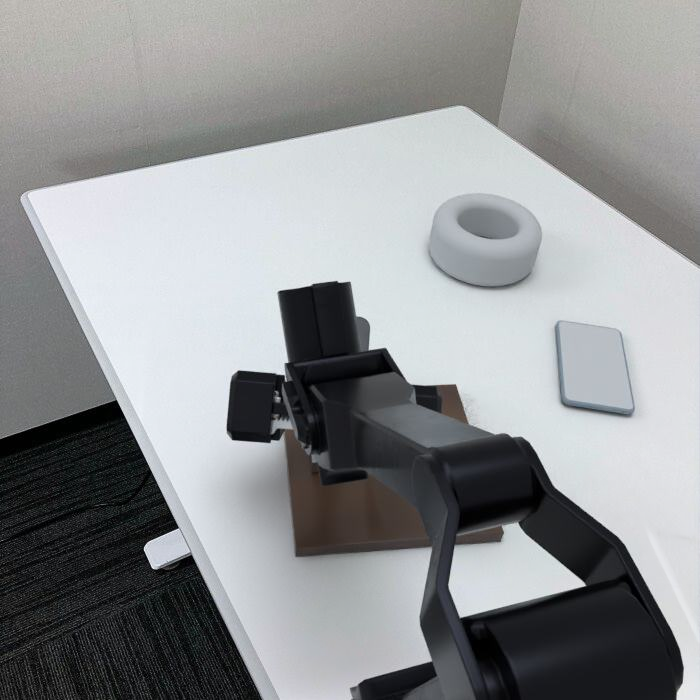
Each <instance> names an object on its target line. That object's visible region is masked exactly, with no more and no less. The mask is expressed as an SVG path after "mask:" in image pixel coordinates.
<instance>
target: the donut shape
mask: <svg viewBox="0 0 700 700" xmlns="http://www.w3.org/2000/svg"><path fill="white" fill-rule="evenodd" d="M542 239H543V231H542V227H541V224H540V222H539V220H538V218H537V217H536V216H535V215H534V213H533V212H532V211H530V210H529V209H528V208H527V207H525V206H524V205H522V204H521V203H519V202H517V201H515V200H513V199H511V198H508V197H505V196H502V195H497V194H492V193H484V192H480V193H479V192H473V193H465V194H460V195H456V196H454V197H450V198H449V199H447V200H446V201H444V202H443V203H442V204H441V205H440V206H438V208H437V209H436V211H435V212H434V215H433V218H432V224H431V229H430V235H429V241H428V250H429V254H430V257H431V258H432V260H433V261H434V263H435V264H436V265H437V267H439V268H440V269H441V270H442V271H443V272H445V273H446V274H447V275H449V276H451V277H452V278H454V279H456V280H458V281H461V282H464V283H467V284H470V285H474V286H480V287H503V286H509V285H512V284H515V283H517V282H520V281H521V280H523V279H524V278H526V277H527V276H528V275H530V273H531V272H532V270H533V268H534V267H535V265H536V260H537V257H538V254H539V250H540V248H541V244H542V241H543V240H542Z"/></svg>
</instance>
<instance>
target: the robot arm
mask: <svg viewBox="0 0 700 700" xmlns="http://www.w3.org/2000/svg"><path fill="white" fill-rule="evenodd" d="M276 294H277V300H278V307H279V312H280V313H279V314H280V318H281V326H282V333H283V338H284V345H285V350H286V356H287V362H284V363H283V364H284V365H283V367H284V372H285V374H278V373H276V372H264V371H252V370H240V369H238V370H236V372H234V374H232V375H231V378H230V382H229V383H230V384H229V393H228V403H227V404H228V405H227V414H226V415H227V417H226V426H225V427H226V435H227V436H228V437H229V438H230V439H231V441H236V442H249V443H261V444H271V443H272V441H273V442H274V441H276V442H279V441H280V440H281V439H282V436H284V431H285V429H291V430H294V433H295V437H296V439H297V440H298V441H300V442H301V444H302V448H303V449H305V451H306V453H307V454H308V455H314V457H315V459H316V461H317V463H318V468H319V475H320V481H321V485H322V486H323V487H326V486H332V485H338V484H344V483H350V482H356V481H362V480H367V479H368V477H369V476H368V473H369V474H371V475H372V476H373V477H375V478H376V479H377V480H379V481H380V482H381V483H383V484H384V485H385V486H387V487H388V488H389V489H391V490H392V491H394V492H395V493H396V494H398V495H399V496H400V497H402V498H403V499H404V500H406V501H407V502H408V503H410V504H411V505H412V506H414V507H415V508H416V509H418V512H419V515H420V518H421V521H422V523H423V526H424V529H425V531H426V534H427V536H428V539H429V542H430V544H431V553H430V558H429V564H428V567H427V568H428V569H427V573H426V580H425V585H424V590H423V596H422V602H421V605H420V606H421V607H420V610H419V611H420V612H419V627H420V630H421V633H422V636H423V638H424V639H423V640H424V642H425V645H426V647H427V650H428V654H429V656H430V659H431V660H430V661H428V662H424V663H420V664H417V665H412V666H409V667H406V668H401V669H398V670H394V671H391V672H387V673H383V674H379V675H376V676H372V677H369V678H365V679H363V680H362V681H360V682H359V683H357V685H355V686H351V687H349V692H350V695H351V699H350V700H677V698H678V692H679V690H680V689H681V687H682V686H683V683H684V672H685V665H684V662H683V656H682V652H681V648H680V645H679V644H678V641H677V639H676V637H675V634H674V632H673V630H672V628H671V626H670V624H669V622H668V621H667V619H666V617H665V615H664V613H663V612H662V610H661V608H660V606H659V604H658V603H657V600H656V599H655V597H654V595H653V593H652V592H651V589H650V588H649V586H648V584H647V582H646V580H645V579H644V577H643V576H642V573H641V571H640V569H639V568H638V566H637V565H636V562H635V560H634V559H633V557H632V555H631V554H630V552H629V549H628V548H627V546H626V544H625V543H624V542H623V541H622V539H620V537H619V536H618V535H617V534H615V533H614V532H612V531H611V530H610V529H608V527H606V526H605V525H603V524H602V523H601V522H600V521H598V519H596V518H594V516H592V515H590V514H589V513H588V512H587V511H585V509H583V508H581V506H579V505H578V504H577V503H575V502H574V501H573V500H572V499H570V498H569V497H568V496H567V495H565V494H564V493H563V492H562V491H560V490H559V489H557V488H556V487H555V485H554V484H553V482H552V481H551V479H550V478H551V477H549V475H548V473H547V471H546V468H545V467H544V465H543V462H542V461H541V458H540V457H539V455H538V453H537V451H536V450H535V449H534V447H533V445H532V444H531V443H530V441H529V440H527V439H525V438H524V437H523V436H511V435H509V434H508V433H506V432H505V433H504V432H502V433H496V434H495V433H492V432H490V431H487V430H485V429H482V428H480V427H477V426H475V425H472V424H470V423H469V424H467V423H464V422H461V421H459V420H456V419H453V418H451V417H448V416H446V415H443V414H441V411H442V393H441V392H440V390H439V389H438V388H437V387H436V386H425V385H423V384H412V383H410V382H408V381H407V379H406V378H405V375H404V374H403V372H402V371H401V370H400V368H399V366H398V365H397V363H396V361H395V360H394V358H393V356H392V355H391V354H390V352H389V350H388V349H387V347H381V348H374V349H370V339H371V338H370V337H371V325H370V322H369V321H368V320H367V319H366V318H365V317H362V316H358V315H357V312H356V305H355V299H354V292H353V286H352V282H351V281H344V282H343V281H342V282H339V281H338V280H333V281H325V282H317V283H312V284H311V285H308V286H307V285H306V286H301V287H296V288H289V289H288V288H287V289H282V290H278V291H277V293H276ZM513 524H518V526H519V528H520V529H521V530H522V532H523V533H524V534H525V535H526V536H527V537H529V538H530V539H531V540H532V541H533V542H534V543H536V544H537V545H538V546H539V547H540V548H542V549H543V550H544V551H546V552H547V553H548V554H549V555H550V556H551V557H553V558H554V559H555V560H556V561H557V562H559V564H561V565H562V566H563V567H565V568H566V569H567V570H568V571H570V573H572V574H573V575H575V576H576V578H578V579H579V580H580V581H581V582H583V584H584V585H583V586H580V587H575V588H572V589H568V590H563V591H560V592H556V593H552V594H548V595H545V596H541V597H537V598H533V599H527V600H525V601H521V602H517V603H513V604H509V605H506V606H501V607H496V608H493V609H490V610H489V609H488V610H485V611H482V612H477V613H474V614H473V613H472V614H469V615H466V616H460V614H459V612H458V609H457V606H456V604H455V601H454V599H453V596H452V593H451V590H450V588H449V587H450V586H449V583H450V577H451V571H452V565H453V559H454V554H455V548H456V545H455V542H456V536H460V535H464V534H469V533H473V532H478V531H482V530H487V529H491V528H495V527H500V526H502V527H504V526H508V525H513Z"/></svg>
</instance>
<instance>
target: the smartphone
mask: <svg viewBox="0 0 700 700" xmlns="http://www.w3.org/2000/svg"><path fill="white" fill-rule="evenodd" d="M555 335H556V346H557V359H558V370H559V372H558V373H559V382H560V383H559V384H560V395H561V401H562V402H563V403H564V404H565V405H567V406H573V407H579V408H584V409H593V410H599V411H604V412H610V413H617V414H624V415H632V414H633V413H634V412H635V410H636V406H635V400H634V395H633V389H632V384H631V378H630V373H629V367H628V361H627V357H626V356H627V355H626V351H625V344H624V339H623V333H622V332H621V330H619V329H618V328H615V327H608V326H603V325H602V326H601V325H594V324H588V323H582V322H575V321H569V320H558V321H557V322H556V323H555Z"/></svg>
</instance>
